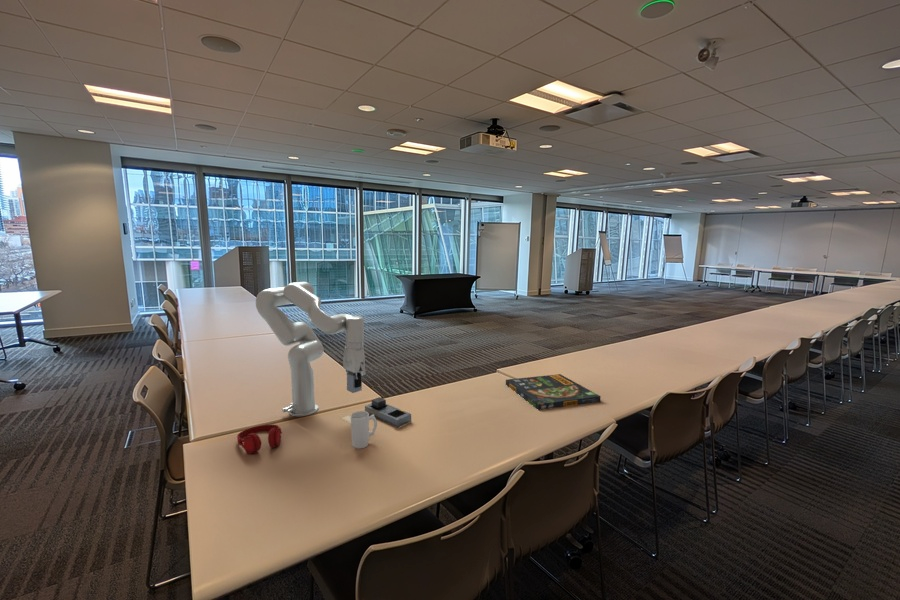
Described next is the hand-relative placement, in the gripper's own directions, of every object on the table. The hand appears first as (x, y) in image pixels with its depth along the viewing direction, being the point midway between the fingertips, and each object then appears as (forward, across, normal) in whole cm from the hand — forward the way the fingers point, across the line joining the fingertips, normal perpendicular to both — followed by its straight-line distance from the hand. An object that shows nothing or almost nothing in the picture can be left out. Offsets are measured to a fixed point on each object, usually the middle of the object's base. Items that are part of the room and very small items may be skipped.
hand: (354, 385), depth 165 cm
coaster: (+15, +1, +1) cm, 16 cm away
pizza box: (+13, +52, +86) cm, 102 cm away
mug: (+15, +21, -10) cm, 28 cm away
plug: (+2, 0, 0) cm, 2 cm away
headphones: (+17, -10, -36) cm, 41 cm away
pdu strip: (+15, +10, +11) cm, 21 cm away
